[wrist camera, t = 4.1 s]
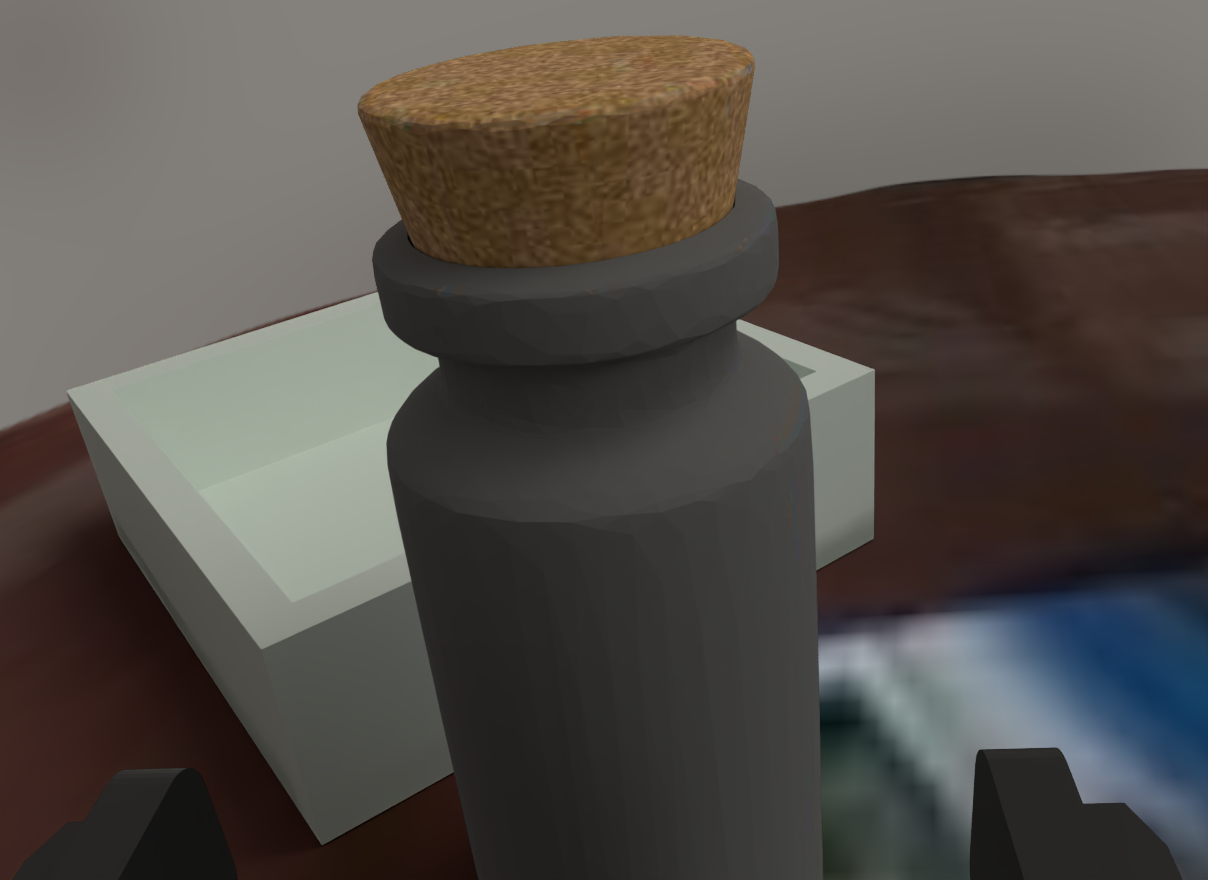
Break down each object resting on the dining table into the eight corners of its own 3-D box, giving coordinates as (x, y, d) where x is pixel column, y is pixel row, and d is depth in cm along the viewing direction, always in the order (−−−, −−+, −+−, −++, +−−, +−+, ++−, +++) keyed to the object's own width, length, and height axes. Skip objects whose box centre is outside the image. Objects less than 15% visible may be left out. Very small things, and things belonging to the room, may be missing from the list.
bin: (551, 371, 43) (533, 242, 40) (873, 538, 31) (874, 369, 28) (118, 536, 35) (65, 390, 33) (321, 845, 23) (261, 649, 21)
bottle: (556, 789, 24) (428, 39, 17) (841, 829, 22) (831, 11, 15) (446, 1047, 19) (201, 141, 12) (801, 1124, 17) (759, 118, 10)
